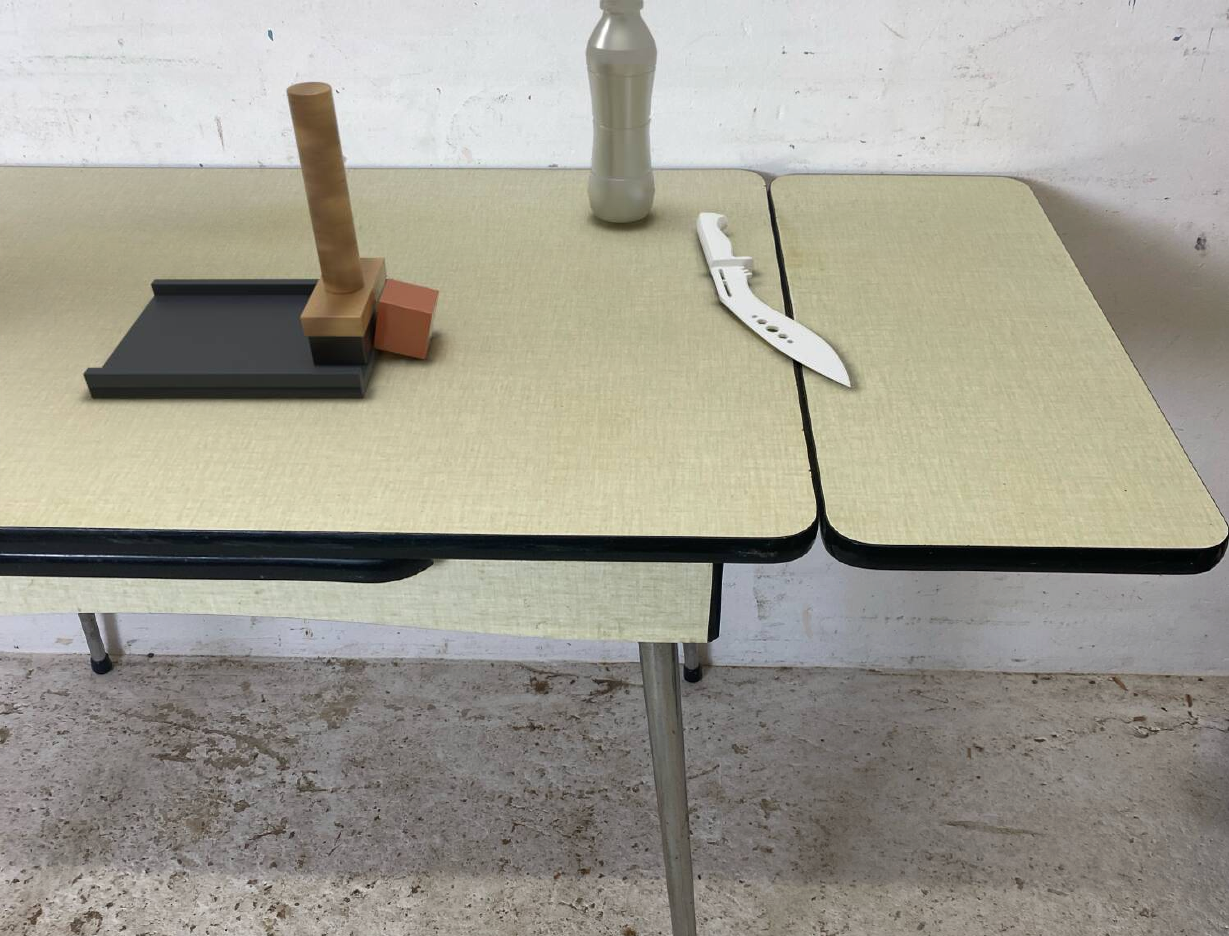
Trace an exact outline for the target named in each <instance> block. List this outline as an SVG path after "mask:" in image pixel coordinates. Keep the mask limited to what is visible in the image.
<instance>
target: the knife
mask: <svg viewBox="0 0 1229 936" xmlns="http://www.w3.org/2000/svg"><path fill="white" fill-rule="evenodd" d="M695 225H696V232H697V235H698V238H699V241H700V244H701V247H702V250H703V254H704V257H705V260H706V263H707V266H708V269H709V273H710V275H711V277H712V278H713V281H714V284H715V288H716V289H717V294H718V299H719V301H720V302H721V303H722V304H723V305H724V306H726V307H727V308H728V309H729V310H730V311H731V312H732V313H733V314H734V315H735V316H737V318H738V319H740V320H741V321H742V322H743V323H744V324H745V325H746V326H748V327H749V328H750V329H751V330H753V332H755V333H756V334H758V335H759V336H760V337H761V338H762V339H764V340H766V342H767V343H769V344H770V345H771V346H773V347H775V348H776V349H778V350H779V351H780V352H782V353H784V354H785V355H787V356H789V357H790V358H792V359H793V360H795V361H796V362H799V363H801V364H802V365H804V366H806V367H808V368H810V369H812V371H815V372H817V373H819V374H821V375H823V376H825V377H827V378H829V379H831V380H833V381H835V382H837V383H839V384H841V385H844V386H846V387H848V388H851V381H850V377H849V374H848V372H847V370H846V368H845V365H844V363H843V362H842V360H841V358H840V356H839V355H838V354H837V353H836V352H835V350H834V349H833V347H832V346H831V345H830V344H829V343H827V342H826V340H825V339H823V338H822V337H821V336H819V335H818V334H816V333H814V331H812V330H810V329H809V328H807V327H805V326H804V325H802V324H801V323H799V322H798V321H795V320H793V319H792V318H790V317H788V316H787V315H785V314H783V313H781V312H779V311H777V310H776V309H774V308H772V307H770V306H768V305H767V304H765V303H764V302H763V301H761V300H760V299H759V298H758V297H757V296H756V295H754V293H753V292H752V291H751V288H750V286H749V284H748V280H749V279H752V278H753V271H754V268H755V267H754V266H755V261H754V258H753V257H752V256H750V255H746V256H734V248H733V244H732V242H731V241H730V239H729V238H728V236H727V235H726V234H725V233H724V231H725V230H726V229H727V228H728V226H729V221H728V218H727V217H726V215H724V214H721V213H720V214H719V213H714V212H700V213H699V215H698V216H697V218H696V220H695ZM722 278H723V279H722ZM726 289H727V290H726ZM727 292H728V293H727ZM769 330H776V331H774V332H773V331H769Z"/></svg>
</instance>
